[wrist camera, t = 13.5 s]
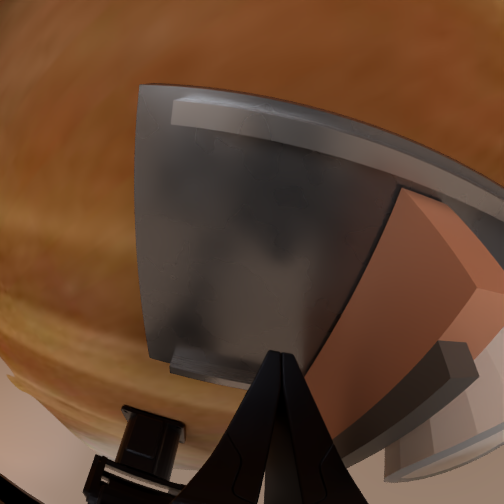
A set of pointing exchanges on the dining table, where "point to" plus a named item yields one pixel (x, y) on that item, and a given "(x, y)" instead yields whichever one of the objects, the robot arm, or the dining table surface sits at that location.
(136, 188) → the vise base
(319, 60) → the dining table surface
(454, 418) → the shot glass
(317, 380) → the sliding jaw
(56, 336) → the dining table surface
